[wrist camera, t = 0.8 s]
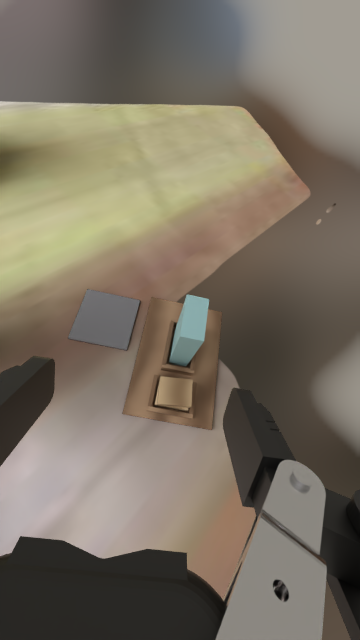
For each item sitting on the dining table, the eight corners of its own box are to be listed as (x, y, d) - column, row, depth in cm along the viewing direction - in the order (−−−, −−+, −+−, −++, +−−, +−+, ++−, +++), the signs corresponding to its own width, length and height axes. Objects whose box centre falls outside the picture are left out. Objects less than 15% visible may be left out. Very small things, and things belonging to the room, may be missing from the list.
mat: (68, 338, 39) (67, 338, 39) (87, 290, 44) (87, 289, 44) (126, 350, 40) (126, 349, 40) (140, 301, 45) (140, 300, 44)
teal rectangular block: (168, 363, 39) (179, 336, 28) (174, 331, 42) (187, 294, 30) (185, 366, 40) (204, 341, 28) (190, 334, 42) (209, 299, 31)
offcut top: (156, 405, 34) (157, 403, 32) (159, 379, 36) (160, 376, 34) (188, 407, 35) (191, 406, 33) (189, 382, 36) (192, 379, 35)
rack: (122, 413, 36) (121, 412, 33) (151, 299, 45) (152, 291, 42) (210, 429, 37) (215, 429, 34) (220, 314, 46) (225, 307, 43)
